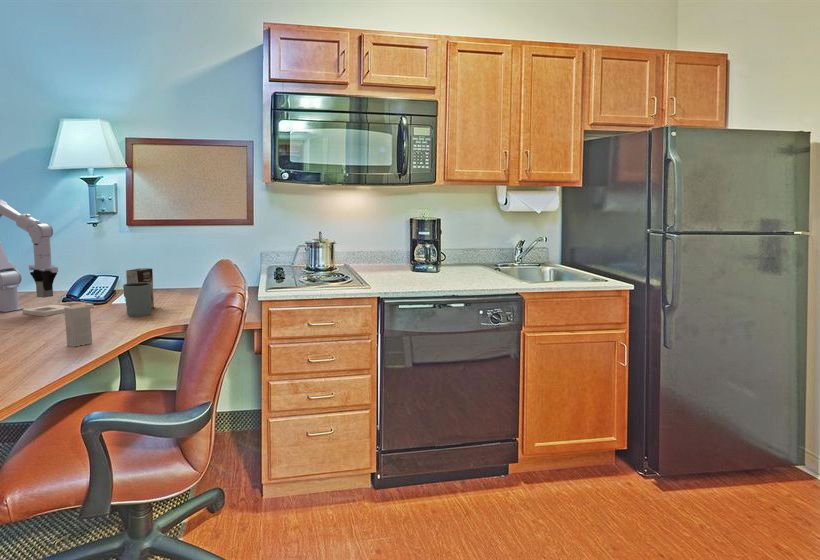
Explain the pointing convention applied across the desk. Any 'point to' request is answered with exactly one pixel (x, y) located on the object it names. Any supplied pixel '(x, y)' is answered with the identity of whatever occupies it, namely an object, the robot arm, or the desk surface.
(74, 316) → the skincare box
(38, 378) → the desk surface
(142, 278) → the coffee box
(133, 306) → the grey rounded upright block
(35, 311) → the board with square holes
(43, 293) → the dark grey block
